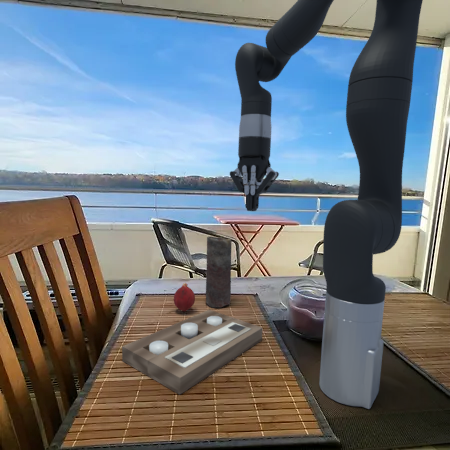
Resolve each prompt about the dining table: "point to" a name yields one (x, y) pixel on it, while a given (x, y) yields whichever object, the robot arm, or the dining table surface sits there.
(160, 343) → the button left
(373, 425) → the dining table surface
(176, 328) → the button board
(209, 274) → the candle
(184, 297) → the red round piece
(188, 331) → the button middle
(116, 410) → the dining table surface
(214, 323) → the button right
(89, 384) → the dining table surface
